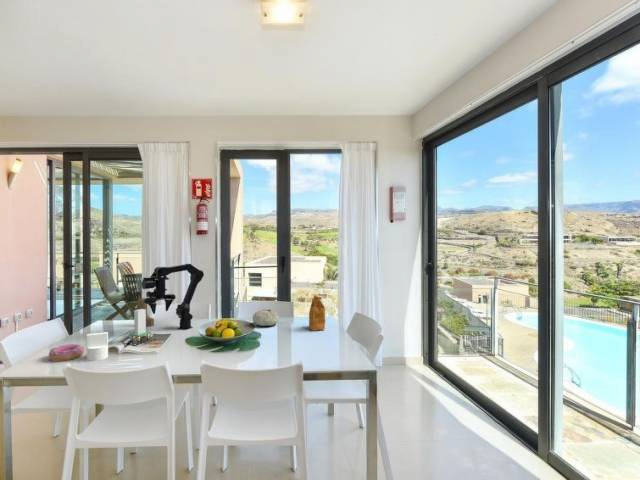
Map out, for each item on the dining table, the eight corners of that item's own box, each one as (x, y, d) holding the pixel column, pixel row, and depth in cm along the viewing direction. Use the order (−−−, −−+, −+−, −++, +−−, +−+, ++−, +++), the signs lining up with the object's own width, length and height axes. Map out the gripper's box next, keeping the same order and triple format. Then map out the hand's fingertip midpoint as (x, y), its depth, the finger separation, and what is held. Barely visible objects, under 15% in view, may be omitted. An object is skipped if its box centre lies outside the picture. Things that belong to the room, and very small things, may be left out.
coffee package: (321, 325, 242) (322, 293, 241) (326, 330, 230) (326, 296, 229) (307, 326, 240) (307, 294, 239) (311, 331, 227) (311, 297, 227)
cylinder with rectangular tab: (85, 362, 172) (85, 337, 171) (88, 356, 180) (87, 332, 179) (107, 359, 176) (107, 334, 176) (108, 353, 184) (108, 330, 184)
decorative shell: (277, 328, 234) (277, 313, 234) (250, 328, 235) (250, 313, 234) (280, 321, 252) (280, 307, 252) (255, 321, 252) (255, 307, 252)
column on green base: (141, 331, 209) (141, 307, 209) (150, 333, 206) (150, 309, 206) (129, 335, 202) (128, 310, 202) (138, 337, 199) (138, 312, 198)
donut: (78, 350, 188) (78, 341, 188) (88, 356, 179) (88, 347, 179) (44, 358, 177) (44, 348, 177) (53, 364, 168) (53, 354, 168)
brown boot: (154, 324, 241) (154, 298, 241) (151, 326, 237) (151, 299, 237) (140, 324, 241) (140, 298, 241) (137, 326, 237) (137, 299, 236)
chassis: (142, 337, 212) (142, 330, 212) (156, 340, 207) (156, 333, 207) (123, 342, 201) (123, 335, 201) (137, 346, 196) (137, 338, 196)
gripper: (164, 284, 232) (164, 308, 233) (138, 288, 216) (138, 314, 216) (176, 285, 227) (176, 310, 228) (150, 289, 211) (150, 316, 211)
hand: (160, 312), depth 221 cm, fingers open, 9 cm apart
